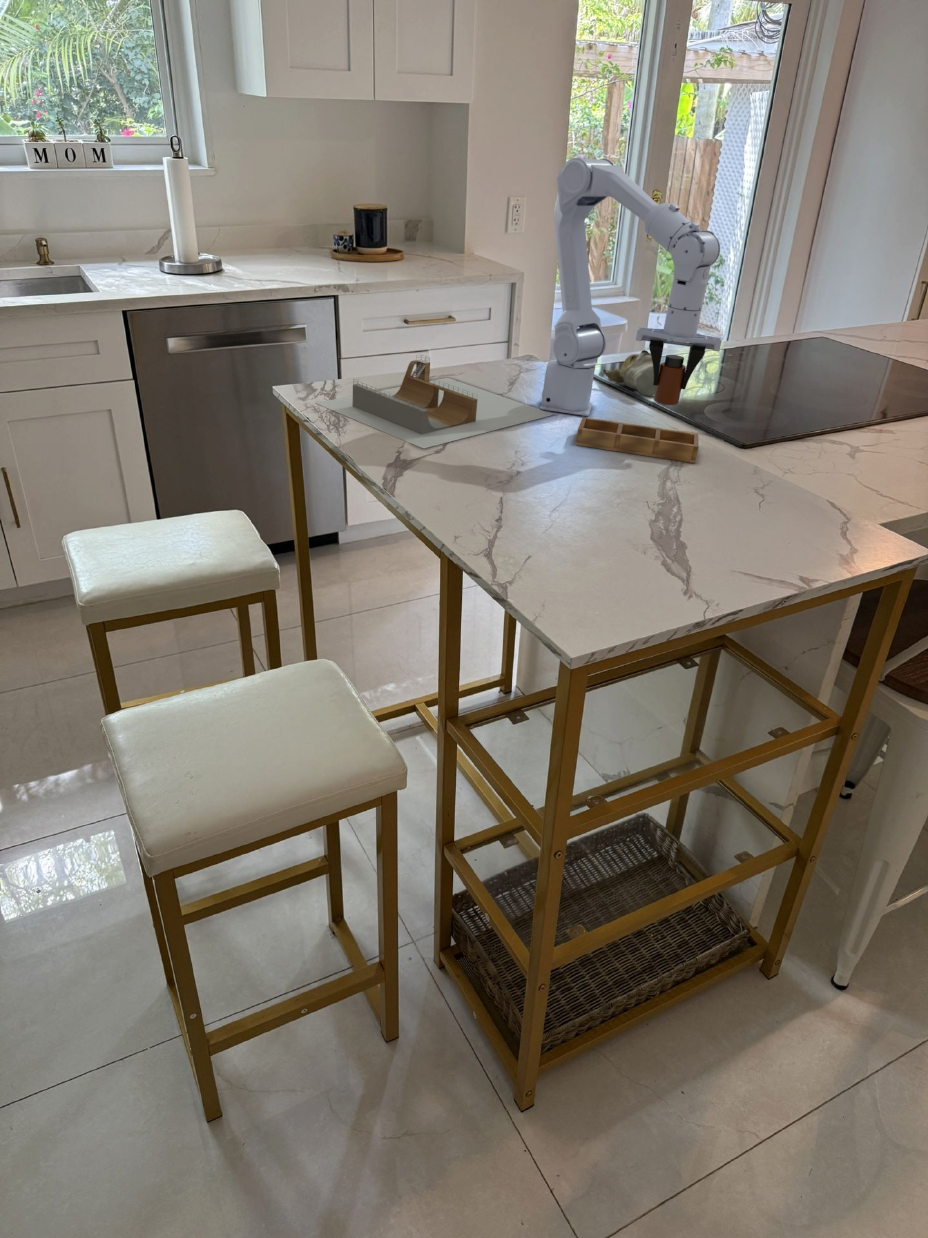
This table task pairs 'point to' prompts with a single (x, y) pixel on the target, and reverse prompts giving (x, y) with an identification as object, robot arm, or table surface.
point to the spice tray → (638, 439)
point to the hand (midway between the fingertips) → (668, 385)
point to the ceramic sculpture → (636, 373)
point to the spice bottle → (670, 380)
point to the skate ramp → (432, 408)
